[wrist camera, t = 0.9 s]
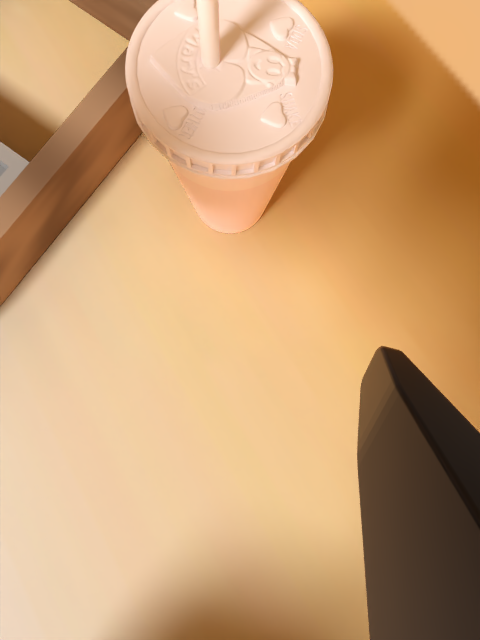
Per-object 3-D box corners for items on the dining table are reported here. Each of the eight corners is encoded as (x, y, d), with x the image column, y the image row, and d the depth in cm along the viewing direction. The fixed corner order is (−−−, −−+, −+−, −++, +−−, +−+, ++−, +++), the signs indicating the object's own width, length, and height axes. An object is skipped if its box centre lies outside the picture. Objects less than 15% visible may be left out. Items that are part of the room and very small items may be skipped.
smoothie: (174, 135, 23) (92, -231, 9) (296, 146, 23) (392, -203, 9) (161, 253, 22) (47, 38, 8) (287, 264, 22) (381, 69, 8)
